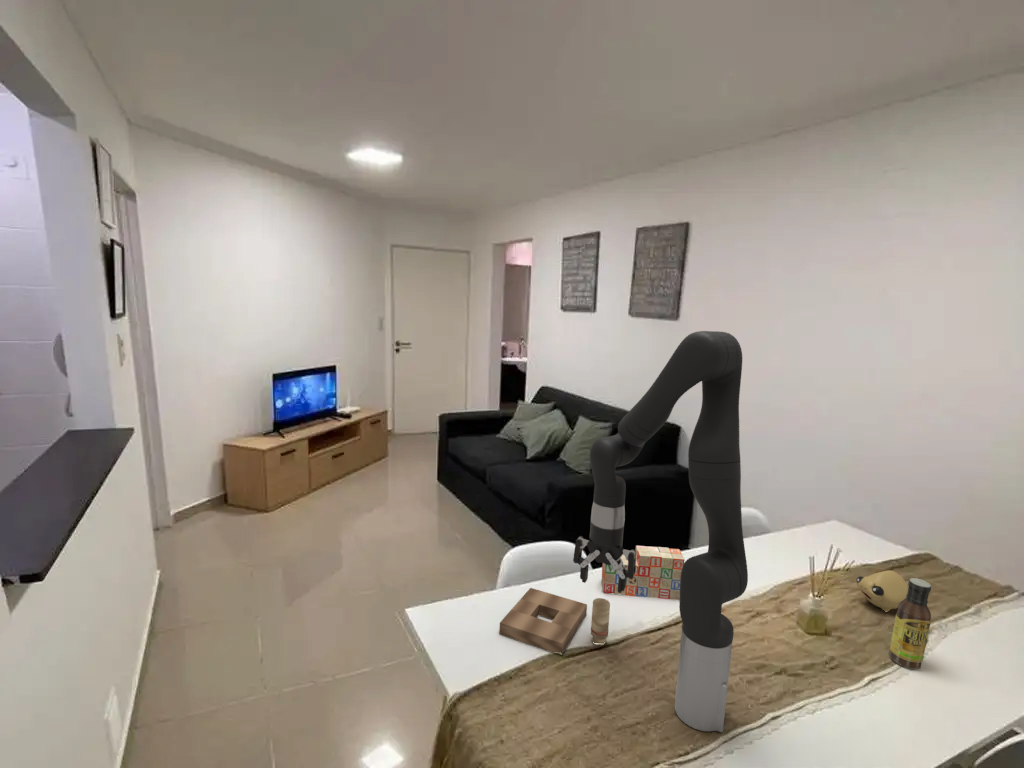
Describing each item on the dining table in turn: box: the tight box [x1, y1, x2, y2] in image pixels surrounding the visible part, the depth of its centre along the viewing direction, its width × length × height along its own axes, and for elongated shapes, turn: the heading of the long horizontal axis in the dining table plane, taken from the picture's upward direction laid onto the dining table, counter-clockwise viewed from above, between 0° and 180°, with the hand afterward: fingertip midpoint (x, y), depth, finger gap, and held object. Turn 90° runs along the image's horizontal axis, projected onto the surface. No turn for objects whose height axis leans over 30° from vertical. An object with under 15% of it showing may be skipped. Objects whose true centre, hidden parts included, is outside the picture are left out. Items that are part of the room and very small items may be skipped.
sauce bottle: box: [888, 577, 932, 670], centre depth 119 cm, size 6×6×20 cm
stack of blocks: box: [601, 545, 686, 601], centre depth 146 cm, size 21×6×12 cm, turn 85°
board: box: [498, 587, 588, 653], centre depth 129 cm, size 16×18×3 cm
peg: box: [590, 597, 611, 643], centre depth 123 cm, size 4×4×10 cm
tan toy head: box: [855, 570, 909, 612], centre depth 143 cm, size 10×12×11 cm
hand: (602, 586), depth 122 cm, fingers open, 8 cm apart
